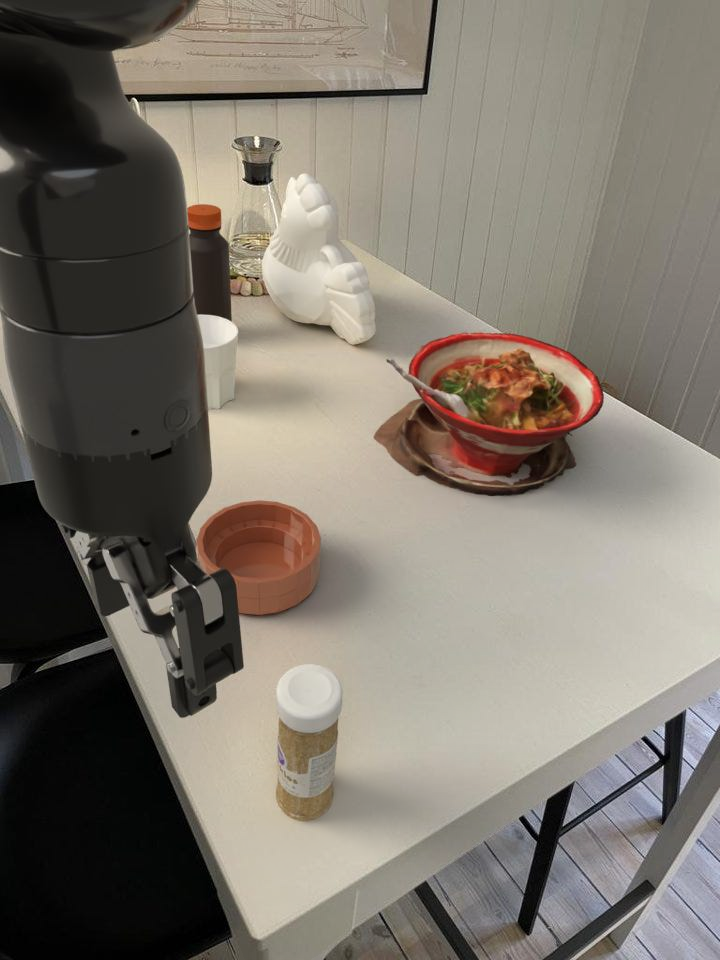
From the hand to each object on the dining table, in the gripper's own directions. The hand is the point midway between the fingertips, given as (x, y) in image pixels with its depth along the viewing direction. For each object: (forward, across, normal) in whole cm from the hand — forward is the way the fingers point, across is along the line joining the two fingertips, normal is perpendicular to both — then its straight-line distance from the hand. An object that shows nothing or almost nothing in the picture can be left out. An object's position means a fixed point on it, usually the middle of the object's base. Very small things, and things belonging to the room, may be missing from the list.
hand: (154, 653), depth 41 cm
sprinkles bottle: (+23, +2, +10) cm, 25 cm away
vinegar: (+23, -70, +46) cm, 87 cm away
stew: (+23, -22, +56) cm, 65 cm away
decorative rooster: (+23, -63, +62) cm, 91 cm away
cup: (+23, -55, +35) cm, 69 cm away
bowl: (+23, -21, +21) cm, 37 cm away
